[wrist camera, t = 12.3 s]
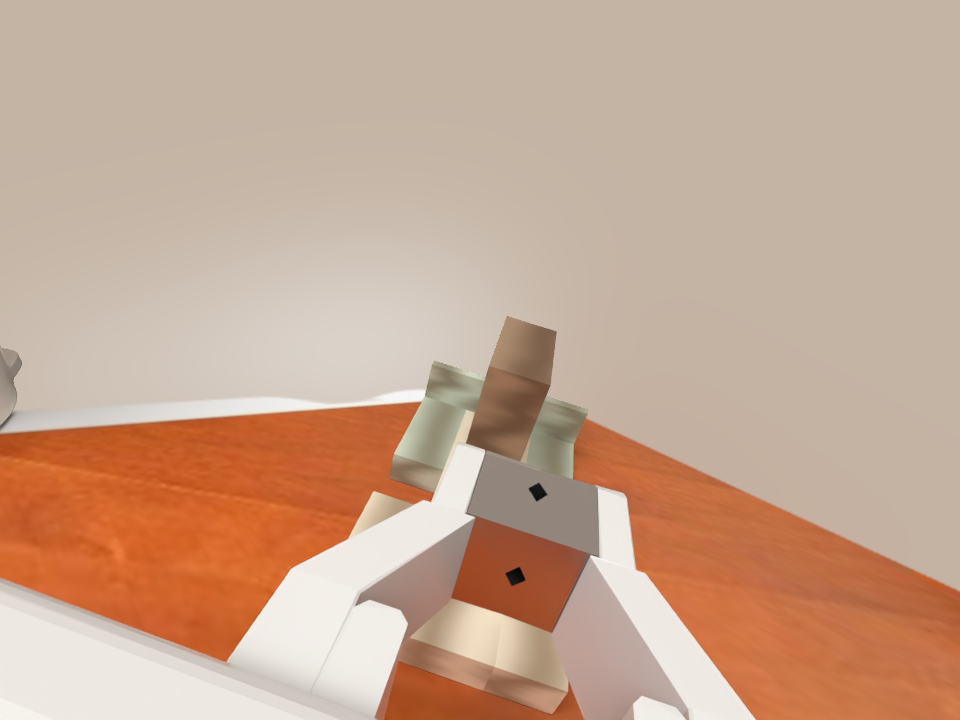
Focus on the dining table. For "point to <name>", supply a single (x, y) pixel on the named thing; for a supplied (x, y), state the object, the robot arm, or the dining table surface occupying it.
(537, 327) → the walnut block
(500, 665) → the cream block stand
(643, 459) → the dining table surface
